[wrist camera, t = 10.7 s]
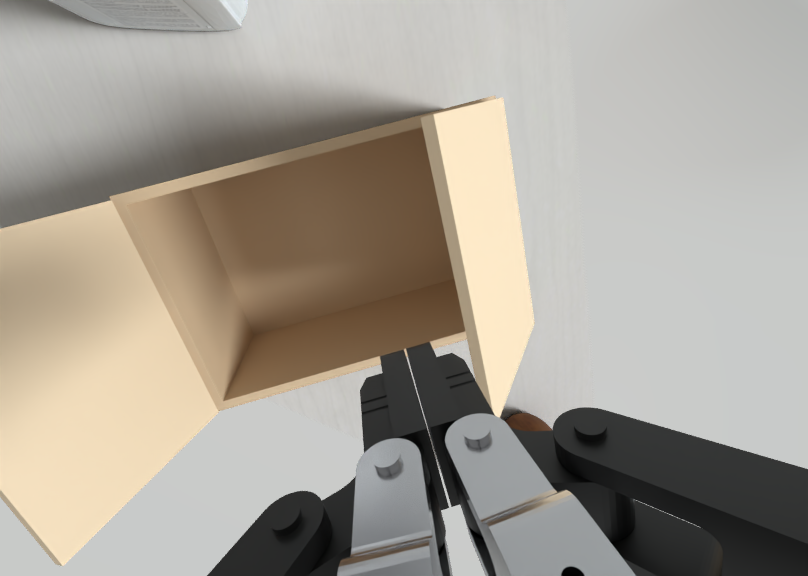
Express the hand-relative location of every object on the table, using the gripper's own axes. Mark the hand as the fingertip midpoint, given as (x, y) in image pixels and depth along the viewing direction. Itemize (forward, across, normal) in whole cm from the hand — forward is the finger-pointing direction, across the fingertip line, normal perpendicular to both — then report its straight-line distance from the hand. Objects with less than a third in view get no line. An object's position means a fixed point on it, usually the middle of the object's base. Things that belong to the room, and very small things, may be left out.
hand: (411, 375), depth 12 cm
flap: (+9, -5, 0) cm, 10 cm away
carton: (+23, +2, 0) cm, 23 cm away
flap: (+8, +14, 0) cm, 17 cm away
